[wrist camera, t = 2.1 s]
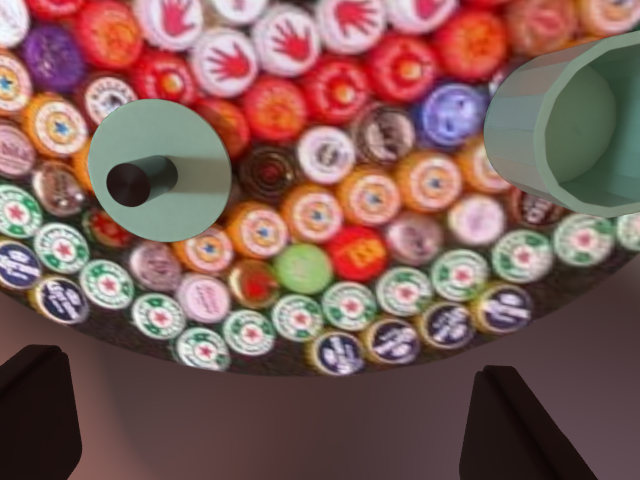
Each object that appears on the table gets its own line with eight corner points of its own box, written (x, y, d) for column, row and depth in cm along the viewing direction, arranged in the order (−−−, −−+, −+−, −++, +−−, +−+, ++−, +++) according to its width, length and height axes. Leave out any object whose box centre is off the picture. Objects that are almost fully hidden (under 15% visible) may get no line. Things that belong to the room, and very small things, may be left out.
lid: (74, 191, 35) (17, 209, 29) (132, 69, 32) (83, 58, 26) (193, 261, 37) (165, 293, 30) (259, 151, 34) (243, 160, 27)
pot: (455, 145, 33) (497, 156, 25) (546, 22, 31) (625, -11, 23) (555, 216, 35) (625, 247, 27) (650, 104, 32) (759, 102, 24)
